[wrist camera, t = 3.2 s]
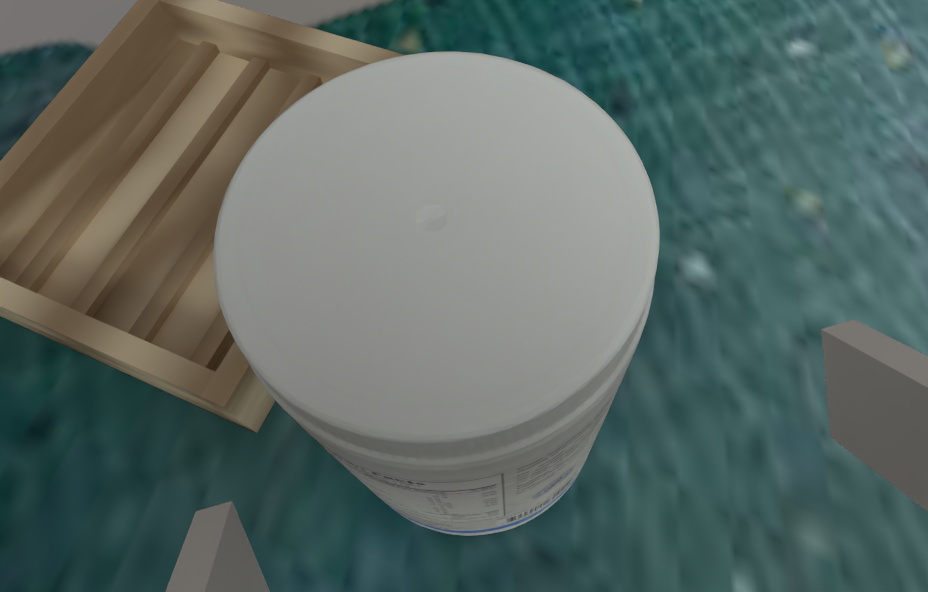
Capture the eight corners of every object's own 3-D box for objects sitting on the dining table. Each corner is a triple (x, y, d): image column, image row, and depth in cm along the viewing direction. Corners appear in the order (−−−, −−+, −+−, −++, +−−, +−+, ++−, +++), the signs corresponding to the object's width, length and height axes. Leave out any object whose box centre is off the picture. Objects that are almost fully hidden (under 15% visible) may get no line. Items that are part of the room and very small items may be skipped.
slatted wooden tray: (-29, 303, 31) (-90, 265, 28) (184, 36, 38) (154, -19, 34) (257, 433, 28) (223, 407, 25) (437, 115, 34) (429, 62, 31)
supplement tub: (392, 283, 30) (298, 10, 17) (613, 328, 29) (697, 66, 16) (317, 508, 26) (119, 379, 13) (568, 575, 25) (629, 504, 12)
